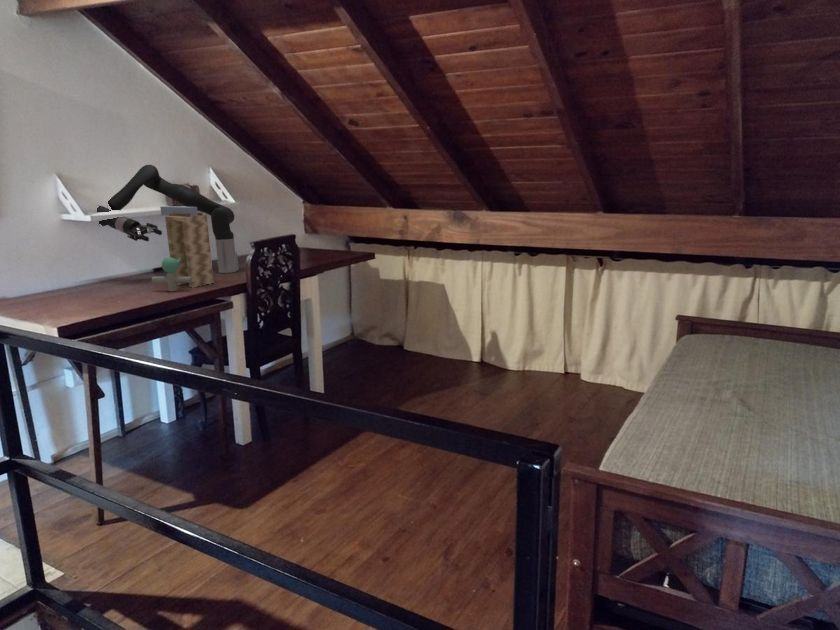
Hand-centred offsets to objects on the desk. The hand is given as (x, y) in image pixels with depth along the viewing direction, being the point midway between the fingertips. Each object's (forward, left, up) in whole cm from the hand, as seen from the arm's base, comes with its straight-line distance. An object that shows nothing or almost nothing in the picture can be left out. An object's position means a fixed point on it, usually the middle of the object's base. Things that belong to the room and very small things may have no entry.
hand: (154, 236), depth 297 cm
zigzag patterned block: (-3, +21, -22) cm, 31 cm away
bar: (-3, +16, +10) cm, 19 cm away
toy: (+11, +25, -22) cm, 35 cm away
